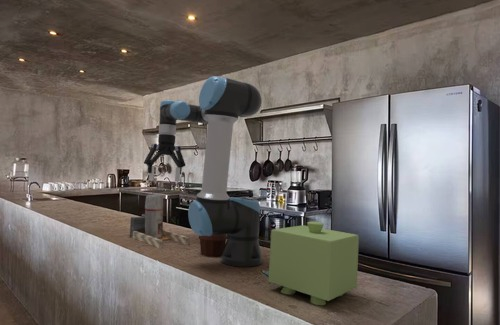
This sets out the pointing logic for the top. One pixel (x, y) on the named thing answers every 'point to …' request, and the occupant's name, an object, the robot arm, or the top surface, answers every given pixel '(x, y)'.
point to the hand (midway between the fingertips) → (164, 181)
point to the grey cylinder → (154, 215)
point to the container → (314, 261)
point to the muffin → (212, 245)
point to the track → (139, 233)
